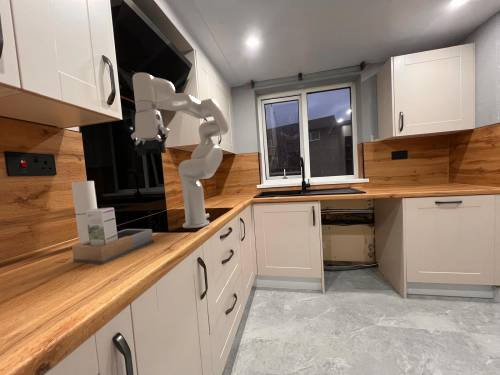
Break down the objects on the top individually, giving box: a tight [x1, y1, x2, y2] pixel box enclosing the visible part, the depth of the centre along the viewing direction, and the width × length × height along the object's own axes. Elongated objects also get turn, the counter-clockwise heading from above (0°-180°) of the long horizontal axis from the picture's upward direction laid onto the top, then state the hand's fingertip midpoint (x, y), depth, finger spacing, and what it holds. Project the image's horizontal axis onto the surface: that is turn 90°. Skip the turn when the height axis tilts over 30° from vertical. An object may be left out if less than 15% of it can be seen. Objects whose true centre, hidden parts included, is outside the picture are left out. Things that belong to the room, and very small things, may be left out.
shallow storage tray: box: [71, 228, 154, 265], centre depth 76 cm, size 20×13×5 cm, turn 161°
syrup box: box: [85, 207, 118, 246], centre depth 72 cm, size 6×6×14 cm
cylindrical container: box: [71, 180, 98, 244], centre depth 89 cm, size 7×7×25 cm
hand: (151, 154), depth 85 cm, fingers open, 9 cm apart
